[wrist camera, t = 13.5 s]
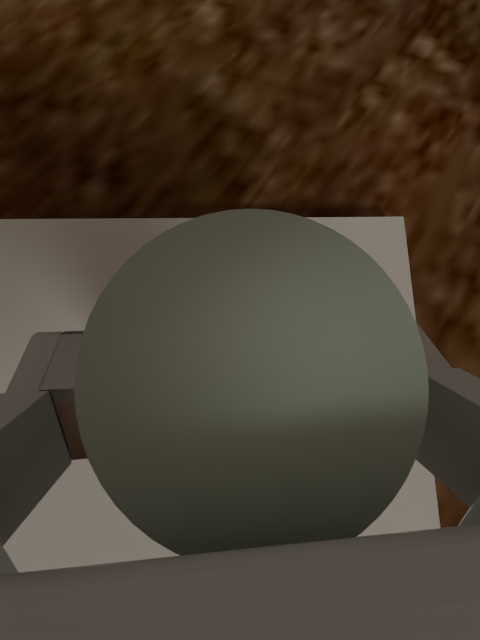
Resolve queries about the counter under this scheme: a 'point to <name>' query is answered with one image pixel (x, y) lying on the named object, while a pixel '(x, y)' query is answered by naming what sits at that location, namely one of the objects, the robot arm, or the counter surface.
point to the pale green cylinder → (251, 385)
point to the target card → (72, 315)
